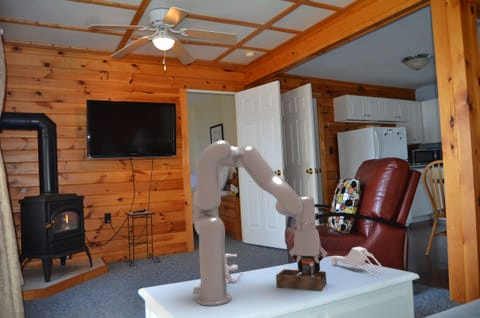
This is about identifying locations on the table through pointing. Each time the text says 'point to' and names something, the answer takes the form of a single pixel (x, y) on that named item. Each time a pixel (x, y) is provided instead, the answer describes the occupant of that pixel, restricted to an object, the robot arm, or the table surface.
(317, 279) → the brown wooden box
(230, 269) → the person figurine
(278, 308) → the table surface
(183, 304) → the table surface
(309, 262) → the supplement bottle
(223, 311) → the table surface
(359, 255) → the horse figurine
